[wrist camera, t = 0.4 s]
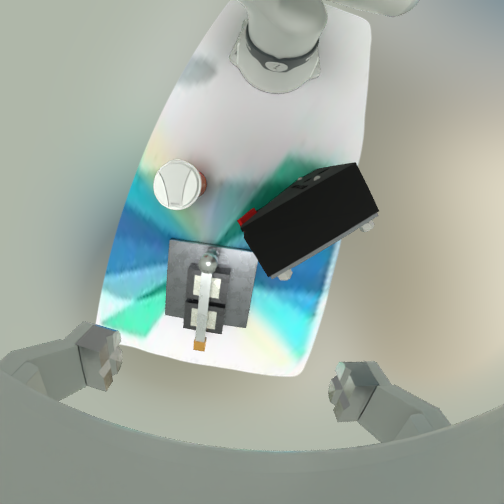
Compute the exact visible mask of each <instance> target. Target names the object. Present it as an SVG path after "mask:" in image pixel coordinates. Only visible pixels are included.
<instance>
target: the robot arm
mask: <svg viewBox="0 0 504 504" xmlns="http://www.w3.org/2000/svg"><path fill="white" fill-rule="evenodd" d="M238 1H239V2H240V3H241V4H242V5H243V6H244V7H245V9H246V10H247V15H248V20H244V22H243V25H242V28H243V31H242V32H241V33H240V34H239V38H238V40H237V42H236V44H235V46H234V48H233V50H232V52H231V54H230V56H229V60H230V62H231V63H232V64H234V65H235V66H236V67H238V68H239V69H240V71H241V73H242V75H243V76H244V78H245V79H246V80H247V81H248V82H249V83H250V84H251V85H252V86H254V87H255V88H257V89H259V90H262V91H265V92H269V93H286V92H290V91H293V90H295V89H297V88H298V87H300V86H301V85H302V84H303V83H304V82H306V81H307V80H310V79H313V78H316V77H318V76H319V75H320V63H319V55H318V43H319V37H320V35H321V33H322V31H323V29H324V27H325V25H326V23H327V11H326V8H325V6H324V4H323V2H322V0H238ZM328 1H331V2H335V3H338V4H341V5H344V6H347V7H351V8H353V9H357V10H362V11H367V12H371V13H376V14H381V15H385V16H389V17H396V16H399V15H402V14H405V13H407V12H408V11H410V10H411V9H413V8H414V7H415V6H416V5H417V3H418V2H419V0H328ZM235 53H237V54H235ZM315 67H316V68H315ZM120 342H121V337H120V333H119V331H117V330H113V329H110V328H106V327H103V326H100V325H97V324H93V323H90V322H86V321H85V322H82V323H81V324H80V325H78V327H76V328H75V329H74V330H73V331H72V332H71V333H70V334H69V335H68V336H67V337H66V338H65V339H64V340H61V339H59V340H55V341H51V342H47V343H43V344H39V345H35V346H31V347H27V348H23V349H19V350H14V351H11V352H10V353H9V354H7V355H6V356H5V357H4V358H3V359H2V360H1V361H0V504H504V404H503V405H500V406H498V407H496V408H494V409H492V410H490V411H487V412H485V413H483V414H480V415H478V416H475V417H473V418H470V419H468V420H465V421H462V422H459V423H456V424H454V425H451V424H450V423H449V421H448V420H447V418H446V417H445V416H444V414H443V413H442V412H441V410H440V409H439V408H437V407H435V406H434V405H432V404H430V403H428V402H426V401H424V400H422V399H420V398H418V397H417V396H414V395H413V394H411V393H409V392H407V391H406V390H404V389H402V388H400V387H398V386H396V385H392V384H391V383H390V381H389V380H388V378H387V377H386V375H385V374H384V373H383V371H382V369H381V368H380V367H379V365H378V364H377V362H375V361H367V362H366V361H365V362H339V364H338V365H337V367H336V370H335V371H336V374H337V376H335V377H334V378H333V379H332V380H331V383H330V385H329V391H328V394H329V399H330V402H331V403H332V404H334V405H335V408H334V410H333V411H334V413H335V416H336V419H337V422H350V421H358V423H359V424H360V425H362V426H363V427H364V428H365V429H366V430H367V431H368V432H370V433H371V434H372V435H373V436H374V437H375V438H376V439H378V440H379V441H380V442H381V443H378V444H372V445H366V446H358V447H350V448H341V449H329V450H313V451H312V450H311V451H266V450H265V451H264V450H247V449H235V448H225V447H217V446H209V445H203V444H197V443H191V442H185V441H180V440H175V439H170V438H166V437H161V436H157V435H153V434H149V433H145V432H141V431H138V430H134V429H131V428H127V427H124V426H121V425H118V424H115V423H111V422H109V421H106V420H103V419H100V418H97V417H95V416H92V415H89V414H87V413H84V412H82V411H79V410H77V409H75V408H72V407H70V406H68V405H65V404H63V403H61V402H59V401H60V400H62V399H64V398H66V397H68V396H69V395H71V394H73V393H75V392H77V391H79V390H81V389H82V388H85V387H86V385H87V386H90V387H93V388H96V389H99V390H102V391H107V390H108V388H109V386H110V385H111V383H112V382H113V379H112V376H113V375H115V374H117V373H118V371H119V370H120V367H121V364H122V350H121V349H120V347H119V346H118V345H119V343H120Z"/></svg>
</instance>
